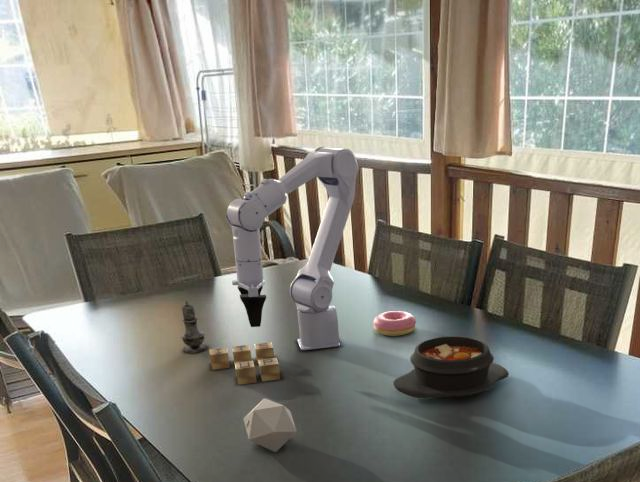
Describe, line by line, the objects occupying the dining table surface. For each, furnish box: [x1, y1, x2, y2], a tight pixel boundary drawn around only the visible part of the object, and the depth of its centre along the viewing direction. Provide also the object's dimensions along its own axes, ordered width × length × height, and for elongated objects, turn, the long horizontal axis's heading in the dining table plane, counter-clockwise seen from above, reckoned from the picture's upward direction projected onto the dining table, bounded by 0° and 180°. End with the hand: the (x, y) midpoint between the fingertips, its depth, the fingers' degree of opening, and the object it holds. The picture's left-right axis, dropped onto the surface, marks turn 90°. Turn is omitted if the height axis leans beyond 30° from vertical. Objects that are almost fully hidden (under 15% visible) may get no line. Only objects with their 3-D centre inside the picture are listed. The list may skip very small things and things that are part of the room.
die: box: [243, 397, 297, 453], centre depth 123 cm, size 8×9×10 cm
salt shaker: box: [180, 300, 207, 354], centre depth 168 cm, size 6×6×12 cm
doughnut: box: [372, 310, 417, 337], centre depth 175 cm, size 11×11×4 cm
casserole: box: [392, 335, 510, 399], centre depth 142 cm, size 25×19×8 cm
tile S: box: [254, 341, 275, 365], centre depth 161 cm, size 4×4×4 cm
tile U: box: [234, 360, 258, 386], centre depth 151 cm, size 4×4×4 cm
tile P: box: [258, 357, 281, 383], centre depth 152 cm, size 4×4×4 cm
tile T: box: [231, 344, 253, 364], centre depth 160 cm, size 4×4×4 cm
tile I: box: [208, 346, 231, 371], centre depth 159 cm, size 4×4×4 cm
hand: (254, 321), depth 156 cm, fingers open, 7 cm apart
